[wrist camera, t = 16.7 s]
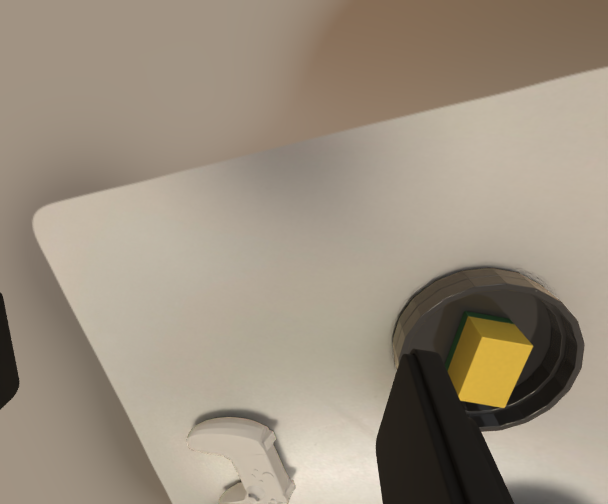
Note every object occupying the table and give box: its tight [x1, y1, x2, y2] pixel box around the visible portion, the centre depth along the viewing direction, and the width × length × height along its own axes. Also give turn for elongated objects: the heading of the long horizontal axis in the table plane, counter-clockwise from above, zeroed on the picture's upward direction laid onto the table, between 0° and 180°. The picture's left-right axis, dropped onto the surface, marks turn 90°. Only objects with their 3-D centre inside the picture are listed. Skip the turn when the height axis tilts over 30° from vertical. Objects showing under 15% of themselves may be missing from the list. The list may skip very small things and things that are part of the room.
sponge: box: [445, 311, 533, 408], centre depth 35 cm, size 7×4×4 cm, turn 171°
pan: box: [393, 268, 584, 432], centre depth 36 cm, size 16×16×4 cm
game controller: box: [186, 417, 296, 504], centre depth 44 cm, size 14×4×10 cm
